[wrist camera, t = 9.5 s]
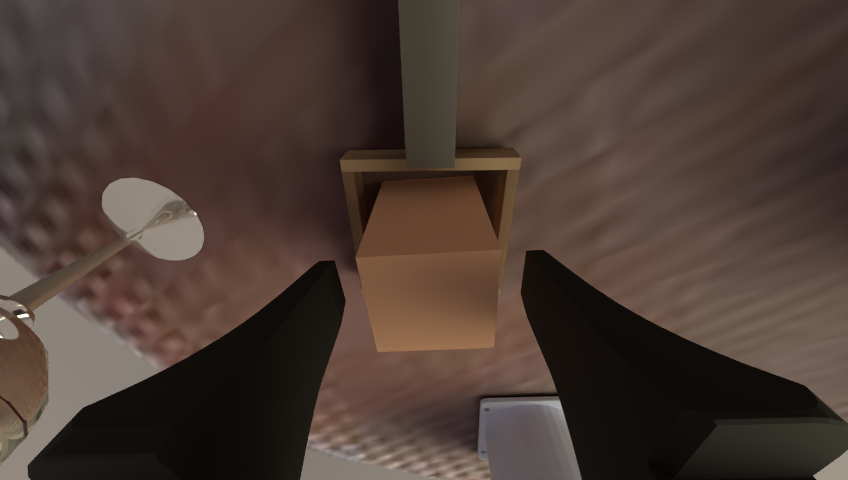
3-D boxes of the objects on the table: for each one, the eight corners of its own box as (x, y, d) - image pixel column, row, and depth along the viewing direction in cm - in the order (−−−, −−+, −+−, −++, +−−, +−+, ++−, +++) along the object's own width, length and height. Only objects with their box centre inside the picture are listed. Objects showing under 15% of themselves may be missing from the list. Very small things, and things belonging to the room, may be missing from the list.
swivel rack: (546, -102, 9) (585, -153, 7) (495, 278, 17) (505, 312, 15) (311, -95, 10) (274, -143, 7) (367, 278, 17) (357, 312, 15)
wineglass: (245, 262, 17) (-19, 560, 7) (143, 281, 18) (-224, 572, 8) (169, 145, 14) (-564, 398, 4) (48, 175, 15) (-826, 449, 4)
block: (472, 251, 17) (493, 347, 11) (393, 255, 17) (377, 352, 11) (473, 175, 14) (501, 249, 9) (382, 181, 15) (355, 257, 9)
